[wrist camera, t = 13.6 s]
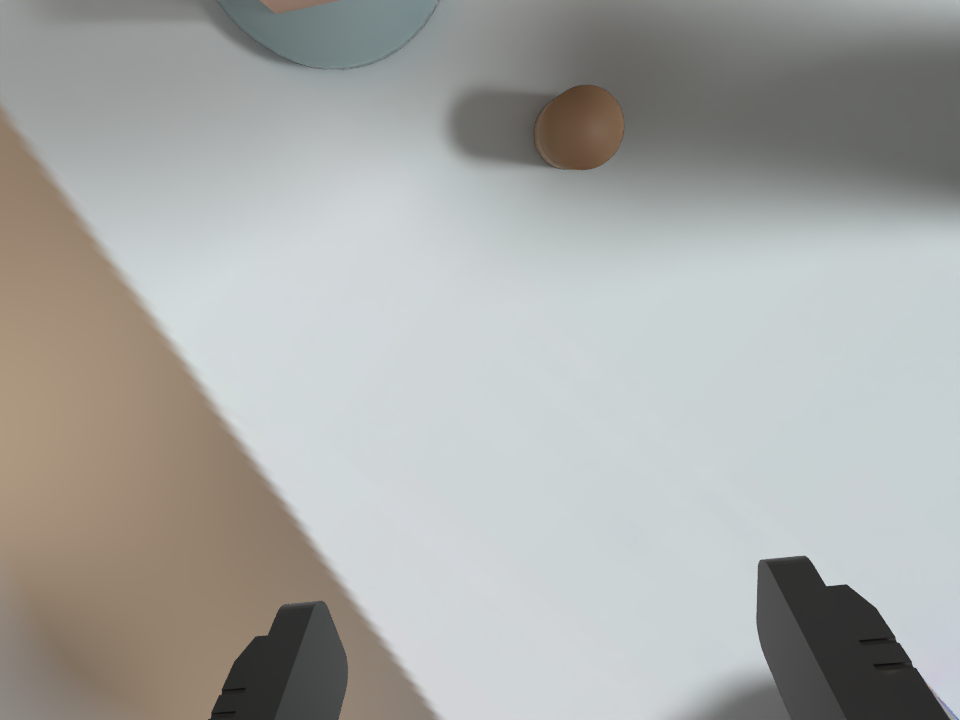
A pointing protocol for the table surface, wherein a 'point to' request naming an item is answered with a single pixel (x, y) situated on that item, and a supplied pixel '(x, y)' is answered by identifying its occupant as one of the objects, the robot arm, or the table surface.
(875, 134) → the table surface
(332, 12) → the dish
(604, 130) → the wooden peg
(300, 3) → the salmon rectangular block
